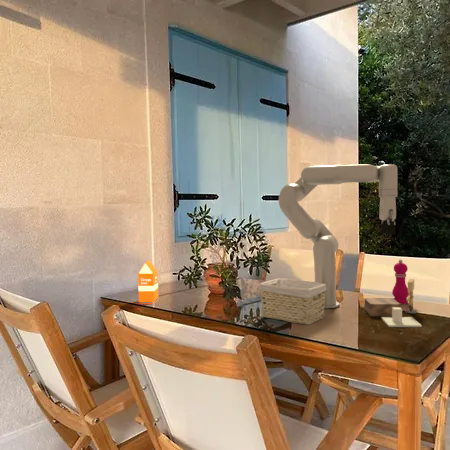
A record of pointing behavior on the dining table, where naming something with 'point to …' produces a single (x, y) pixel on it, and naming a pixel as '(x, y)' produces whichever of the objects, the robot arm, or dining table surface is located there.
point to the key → (410, 293)
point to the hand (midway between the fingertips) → (388, 233)
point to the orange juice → (148, 283)
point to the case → (380, 306)
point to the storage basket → (293, 300)
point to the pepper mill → (400, 283)
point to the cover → (400, 319)
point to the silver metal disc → (411, 311)
